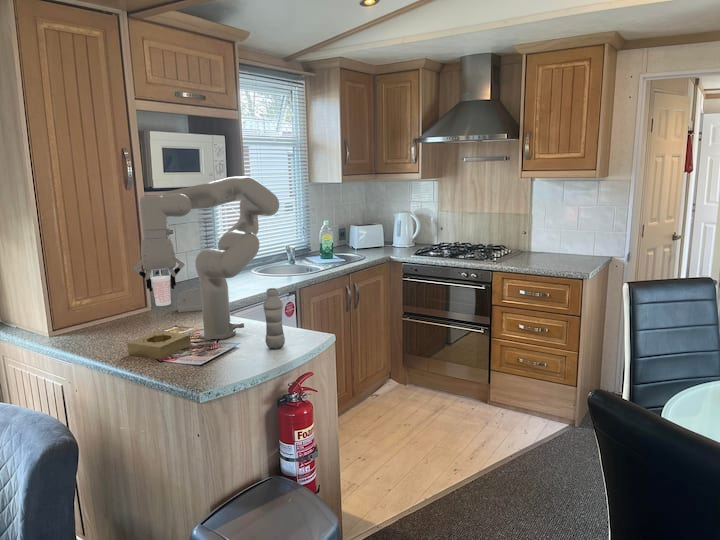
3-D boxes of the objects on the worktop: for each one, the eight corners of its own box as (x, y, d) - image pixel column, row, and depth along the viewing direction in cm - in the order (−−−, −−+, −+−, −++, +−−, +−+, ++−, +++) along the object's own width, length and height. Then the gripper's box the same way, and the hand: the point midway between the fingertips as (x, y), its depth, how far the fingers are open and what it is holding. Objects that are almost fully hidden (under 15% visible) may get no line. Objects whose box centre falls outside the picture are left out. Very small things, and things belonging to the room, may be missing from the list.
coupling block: (159, 341, 187) (158, 330, 186) (190, 345, 182) (189, 334, 181) (128, 354, 175) (127, 342, 174) (161, 359, 169) (159, 347, 168)
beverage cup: (157, 307, 169) (152, 264, 166) (150, 304, 174) (146, 262, 171) (176, 304, 173) (171, 262, 170) (169, 300, 177) (165, 259, 175)
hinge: (177, 312, 226) (175, 289, 228) (178, 313, 231) (176, 290, 232) (217, 308, 230) (215, 286, 232) (217, 309, 235) (215, 287, 236)
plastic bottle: (267, 351, 173) (263, 292, 170) (264, 345, 180) (261, 288, 176) (286, 349, 175) (283, 290, 171) (283, 343, 182) (280, 286, 178)
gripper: (182, 231, 176) (187, 284, 179) (126, 235, 169) (132, 290, 172) (185, 233, 169) (190, 288, 173) (127, 238, 162) (133, 295, 165)
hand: (161, 288), depth 172 cm, fingers closed on beverage cup, 6 cm apart
